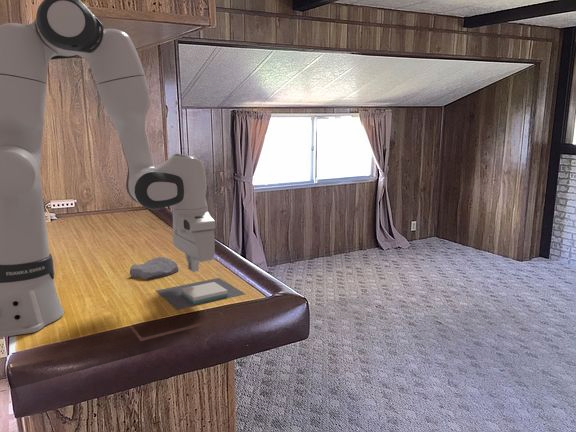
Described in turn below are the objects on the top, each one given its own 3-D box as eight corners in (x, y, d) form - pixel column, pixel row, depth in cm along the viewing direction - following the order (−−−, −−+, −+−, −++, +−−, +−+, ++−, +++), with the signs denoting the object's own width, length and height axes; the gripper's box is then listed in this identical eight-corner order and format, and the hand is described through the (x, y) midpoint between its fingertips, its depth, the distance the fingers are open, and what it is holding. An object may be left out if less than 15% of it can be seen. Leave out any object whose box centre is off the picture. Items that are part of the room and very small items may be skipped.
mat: (177, 312, 110) (177, 309, 109) (155, 292, 123) (155, 290, 123) (246, 296, 119) (245, 293, 119) (219, 279, 132) (218, 277, 132)
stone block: (182, 278, 140) (161, 266, 146) (183, 264, 139) (161, 252, 144) (148, 291, 131) (127, 278, 137) (148, 275, 130) (127, 263, 135)
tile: (181, 294, 119) (193, 304, 113) (181, 288, 119) (193, 297, 112) (214, 287, 124) (227, 296, 118) (214, 281, 124) (227, 290, 117)
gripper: (165, 213, 127) (168, 263, 130) (193, 226, 110) (196, 282, 113) (187, 211, 131) (190, 259, 133) (218, 223, 114) (220, 278, 116)
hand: (193, 270), depth 123 cm, fingers closed
